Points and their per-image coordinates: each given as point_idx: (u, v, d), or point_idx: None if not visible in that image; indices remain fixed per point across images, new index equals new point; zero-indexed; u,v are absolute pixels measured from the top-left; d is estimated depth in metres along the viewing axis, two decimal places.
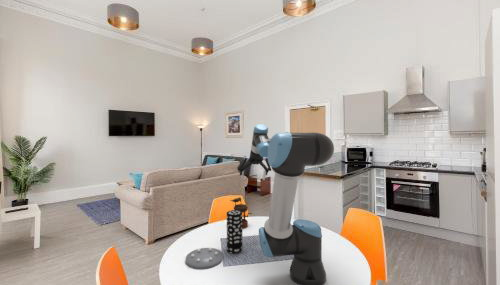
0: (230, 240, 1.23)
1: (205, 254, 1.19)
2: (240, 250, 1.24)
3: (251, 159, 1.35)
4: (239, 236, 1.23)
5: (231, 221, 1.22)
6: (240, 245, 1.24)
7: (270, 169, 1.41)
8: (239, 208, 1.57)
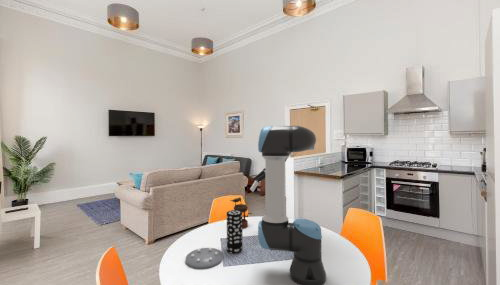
0: (230, 240, 1.23)
1: (205, 254, 1.19)
2: (240, 250, 1.24)
3: None
4: (239, 236, 1.23)
5: (231, 221, 1.22)
6: (240, 245, 1.24)
7: None
8: (239, 208, 1.57)
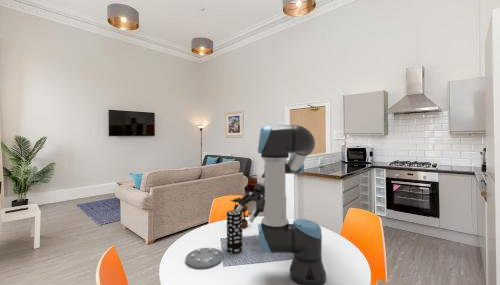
0: (230, 240, 1.23)
1: (205, 254, 1.19)
2: (240, 250, 1.24)
3: None
4: (239, 236, 1.23)
5: (231, 221, 1.22)
6: (240, 245, 1.24)
7: (260, 208, 1.27)
8: None
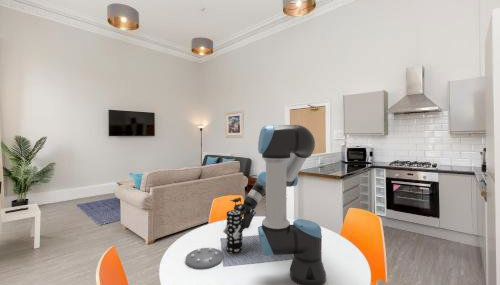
0: (230, 240, 1.23)
1: (205, 254, 1.19)
2: (240, 250, 1.24)
3: (242, 205, 1.34)
4: (239, 236, 1.23)
5: (231, 221, 1.22)
6: (240, 245, 1.24)
7: (245, 224, 1.22)
8: None
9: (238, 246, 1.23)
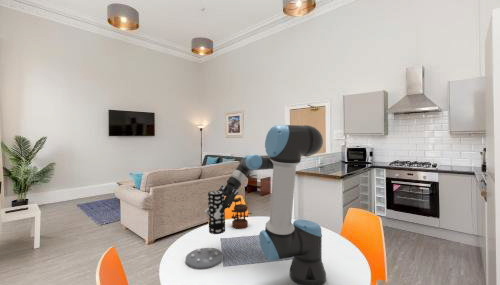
0: (211, 220, 1.19)
1: (205, 254, 1.19)
2: (222, 231, 1.20)
3: (225, 186, 1.29)
4: (221, 216, 1.19)
5: (212, 200, 1.18)
6: (222, 226, 1.20)
7: (226, 203, 1.18)
8: (239, 208, 1.57)
9: (220, 227, 1.19)
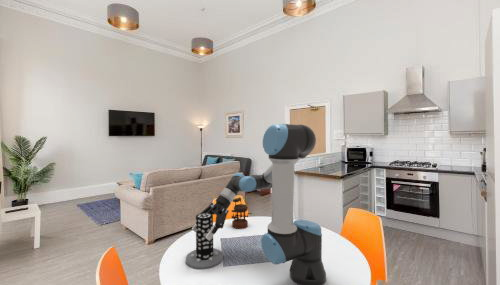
0: (198, 245, 1.14)
1: None
2: (210, 256, 1.15)
3: (214, 205, 1.24)
4: (209, 241, 1.14)
5: (200, 225, 1.13)
6: (210, 251, 1.15)
7: (219, 223, 1.11)
8: (239, 208, 1.57)
9: (207, 252, 1.14)
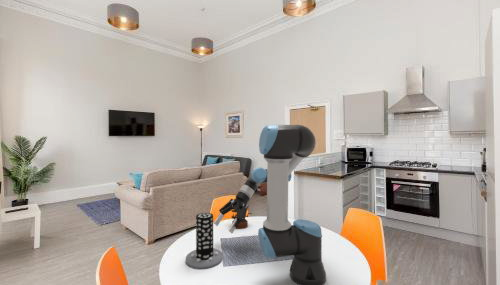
0: (199, 245, 1.14)
1: None
2: (210, 256, 1.15)
3: None
4: (209, 241, 1.14)
5: (200, 224, 1.13)
6: (210, 251, 1.15)
7: (241, 217, 1.20)
8: None
9: (208, 252, 1.14)
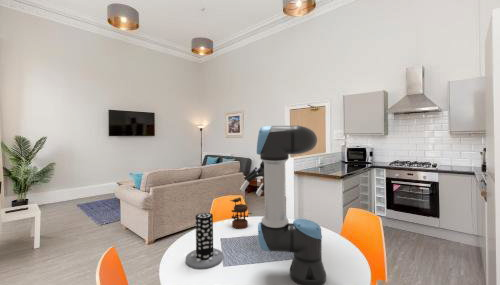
0: (198, 245, 1.14)
1: None
2: (210, 256, 1.15)
3: (259, 169, 1.39)
4: (209, 241, 1.14)
5: (200, 224, 1.13)
6: (210, 251, 1.15)
7: None
8: (239, 208, 1.57)
9: (207, 252, 1.14)
